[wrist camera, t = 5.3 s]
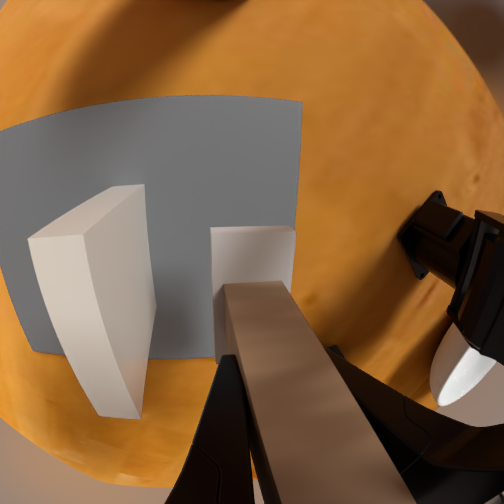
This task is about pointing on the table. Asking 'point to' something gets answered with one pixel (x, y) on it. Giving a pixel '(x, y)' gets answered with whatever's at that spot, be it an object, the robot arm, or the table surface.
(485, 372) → the serving bowl
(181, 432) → the table surface
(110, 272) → the tile
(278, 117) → the board
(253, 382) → the white-capped wooden bar
